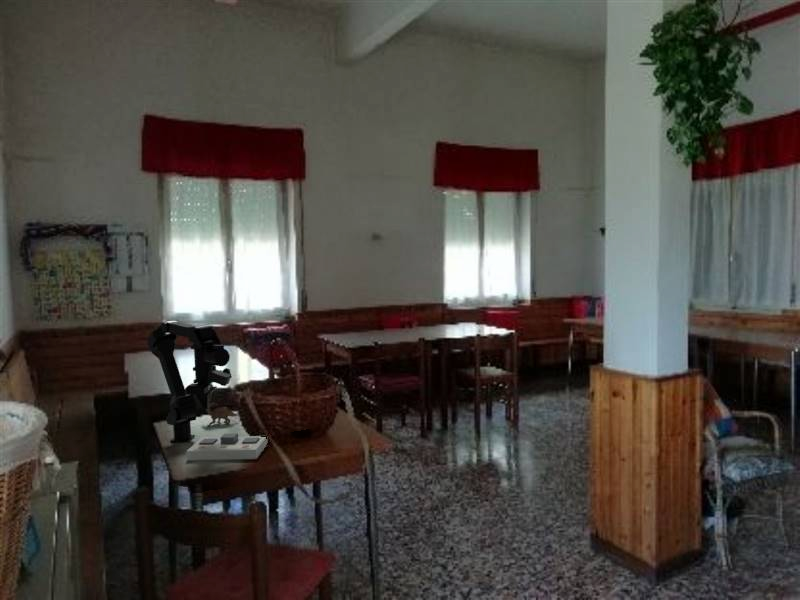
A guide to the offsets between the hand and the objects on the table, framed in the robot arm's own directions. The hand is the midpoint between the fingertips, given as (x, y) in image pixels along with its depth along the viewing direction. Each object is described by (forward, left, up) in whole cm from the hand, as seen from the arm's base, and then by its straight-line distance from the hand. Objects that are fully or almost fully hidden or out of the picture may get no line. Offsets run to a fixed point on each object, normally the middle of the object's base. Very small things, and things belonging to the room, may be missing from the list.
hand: (206, 409), depth 202 cm
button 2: (+5, +16, -12) cm, 20 cm away
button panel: (+6, +9, -13) cm, 17 cm away
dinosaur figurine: (-28, -5, -13) cm, 31 cm away
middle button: (+5, +9, -10) cm, 14 cm away
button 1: (+5, +2, -12) cm, 13 cm away
